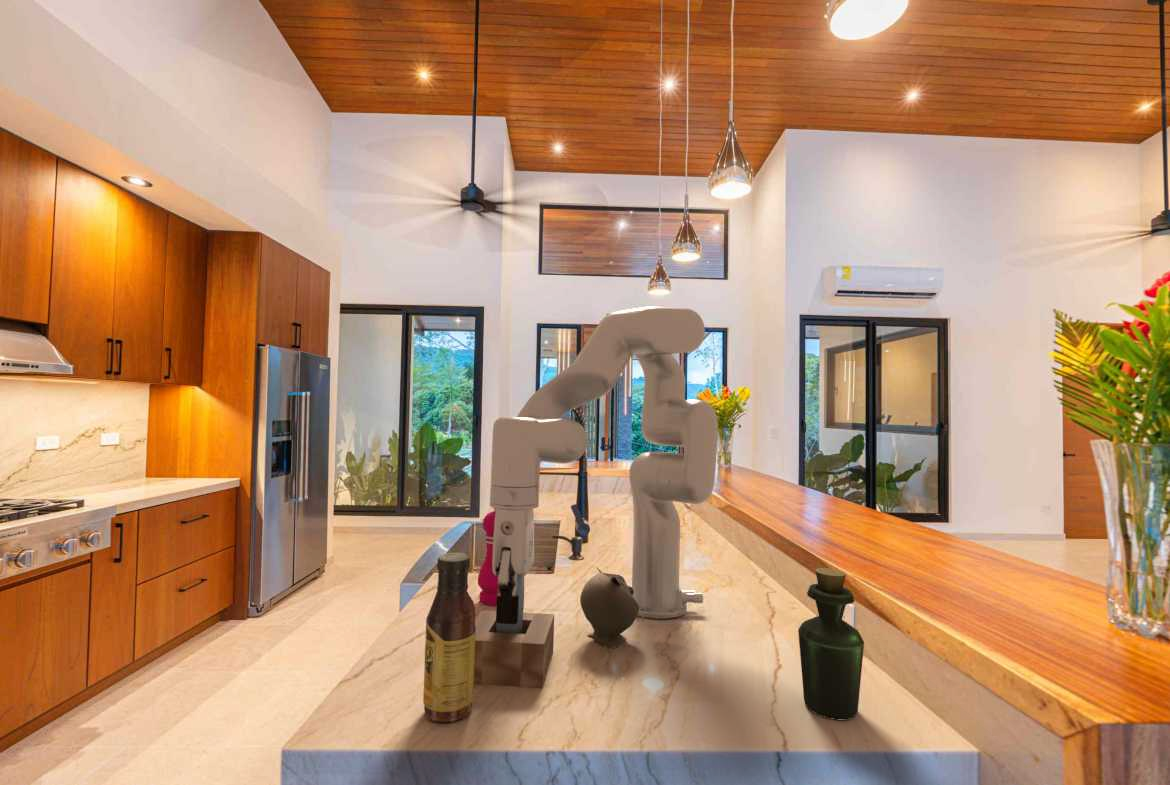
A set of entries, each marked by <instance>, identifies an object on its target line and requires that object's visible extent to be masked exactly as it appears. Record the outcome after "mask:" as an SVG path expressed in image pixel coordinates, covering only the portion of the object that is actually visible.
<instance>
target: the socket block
mask: <svg viewBox="0 0 1170 785" xmlns="http://www.w3.org/2000/svg"><path fill="white" fill-rule="evenodd" d="M475 627H476V637H475V664H474V685H488V686H489V685H490V686H504V687H505V686H507V687H524V688H525V687H527V688H539V689H540V688H544V685H545V682H546V678H547V674H548V671H549V667H550V665H551V661H552V657H553V654H554V642H555V641H554V636H555V633H554V632H555V631H554V630H555V613H541V612H540V613H537V612H523V630H522V634H514V633H496V610H480V612H479V614H478V616H476V617H475Z"/></svg>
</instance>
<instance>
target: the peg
mask: <svg viewBox="0 0 1170 785" xmlns="http://www.w3.org/2000/svg"><path fill="white" fill-rule="evenodd" d="M499 565H500V563H499ZM509 574H515V571H510V572H509ZM498 578H499V575H498ZM509 582H512V584H513V579H509ZM517 596H519V605H518V622H517V624H500V623H497V622H496V633H514V634H522V630H523V613H524V610H523V602H524V603H525V576H524V577H520V575H518V585H517Z"/></svg>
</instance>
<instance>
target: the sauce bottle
mask: <svg viewBox="0 0 1170 785" xmlns="http://www.w3.org/2000/svg"><path fill="white" fill-rule="evenodd" d="M470 560H471V559H470V555H469V554H467V553H464V552H447V553H444V554H441V555H438V557H437V564H436V567H437V571H438V572H437V573H438V575H437V576H438V578H437V587H436V589H437V590H436V592H435V595H434V598H433V602H432V604H431V606H430V609H429V611H428V614H427V616H426V621H425V623H426V624H425V642H424V643H425V645H424V672H423V673H424V674H423V694H422V696H423V699H422V701H423V708H424V714H425V717H427V719H428V720H429V721H432V722H436V723H452V722H453V723H454V722H456V721H460V720H462V719H464V718H466V717H467V716H468V714H470V711H471V710H472V707H473V699H474V685H475V684H474V664H475V637H476V627H475V619H476V617H477V616H476V615H477V614H476V613H477V612H476V605H475V603H474V600H473V599H472V597H471V596H470V593H469V592H468V589H469V583H468V576H469V570H470V566H471V565H470Z"/></svg>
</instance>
